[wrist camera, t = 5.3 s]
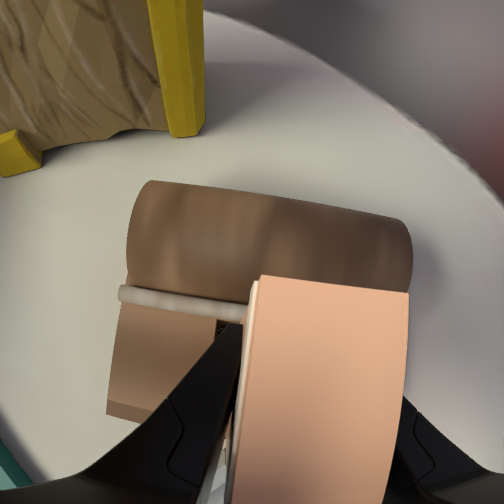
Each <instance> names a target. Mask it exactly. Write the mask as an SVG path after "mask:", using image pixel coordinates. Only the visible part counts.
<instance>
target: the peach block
mask: <svg viewBox="0 0 504 504" xmlns="http://www.w3.org/2000/svg"><path fill="white" fill-rule="evenodd" d="M408 309H409V293H402V292H394V291H385V290H377V289H368V288H360V287H352V286H344V285H336V284H328V283H321V282H313V281H305V280H298V279H290V278H283V277H276V276H268V275H261V276H260V279H259V281H254V283H253V286H252V288H251V292H250V300H249V304H248V306H247V308H246V310H245V313H244V315H243V317H242V319H241V322H240V324H243V338H242V355H241V365H240V370H239V376H238V381H237V386H236V392H235V397H234V403H233V408H232V412H231V416H230V420H229V424H228V428H227V432H226V483H225V491H224V504H382V501H383V497H384V493H385V489H386V485H387V481H388V477H389V473H390V468H391V464H392V459H393V454H394V449H395V443H396V438H397V432H398V426H399V419H400V412H401V405H402V397H403V389H404V379H405V368H406V355H407V339H408Z"/></svg>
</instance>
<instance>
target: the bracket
mask: <svg viewBox="0 0 504 504" xmlns="http://www.w3.org/2000/svg"><path fill="white" fill-rule="evenodd" d="M29 485H34V483H33V482H32V481H31V480H30V478H29V477H28V476H27V475H26V473H25V472H24V471H23V470H22V468H21V467H20V466H19V464H18V463H17V462H16V460H15V459H14V458H13V456H12V455H11V454H10V452H9V451H8V449H7V448H6V446H5V445H4V444H3V442H2V441H1V439H0V490H6V489H12V488H18V487H24V486H29Z"/></svg>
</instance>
